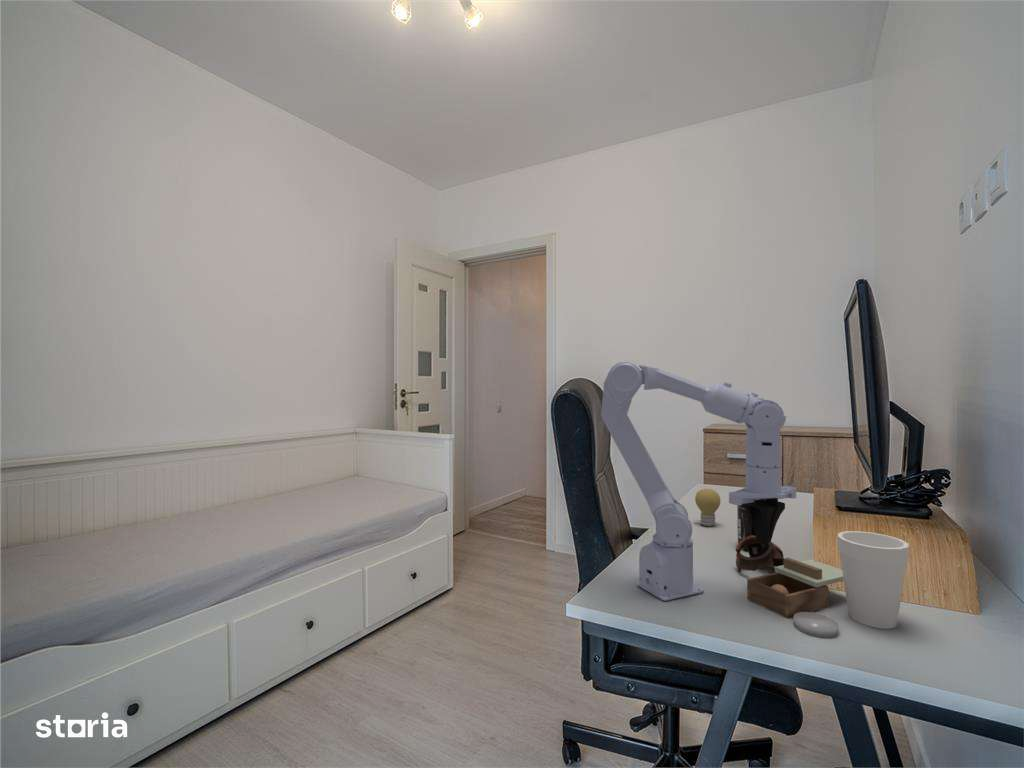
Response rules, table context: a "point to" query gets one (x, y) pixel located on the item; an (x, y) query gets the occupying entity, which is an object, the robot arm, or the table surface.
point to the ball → (780, 588)
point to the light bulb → (707, 505)
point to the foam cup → (873, 576)
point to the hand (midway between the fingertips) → (763, 541)
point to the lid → (810, 572)
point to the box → (786, 595)
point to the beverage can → (744, 524)
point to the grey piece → (816, 624)
